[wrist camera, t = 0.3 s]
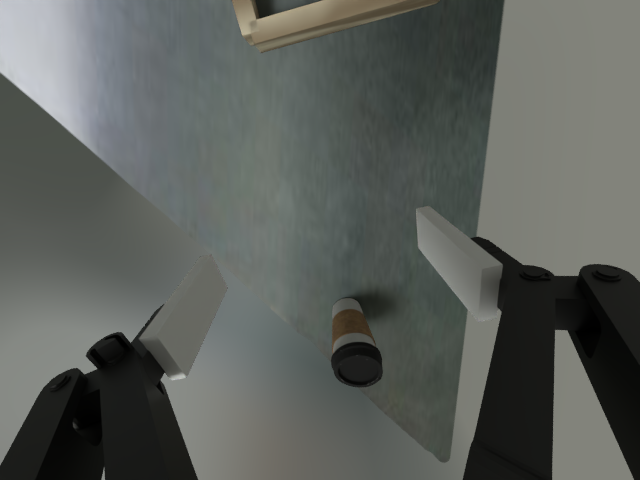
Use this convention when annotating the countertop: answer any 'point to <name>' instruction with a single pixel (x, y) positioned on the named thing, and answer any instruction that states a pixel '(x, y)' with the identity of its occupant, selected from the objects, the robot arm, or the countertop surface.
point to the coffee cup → (354, 346)
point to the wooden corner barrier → (314, 19)
